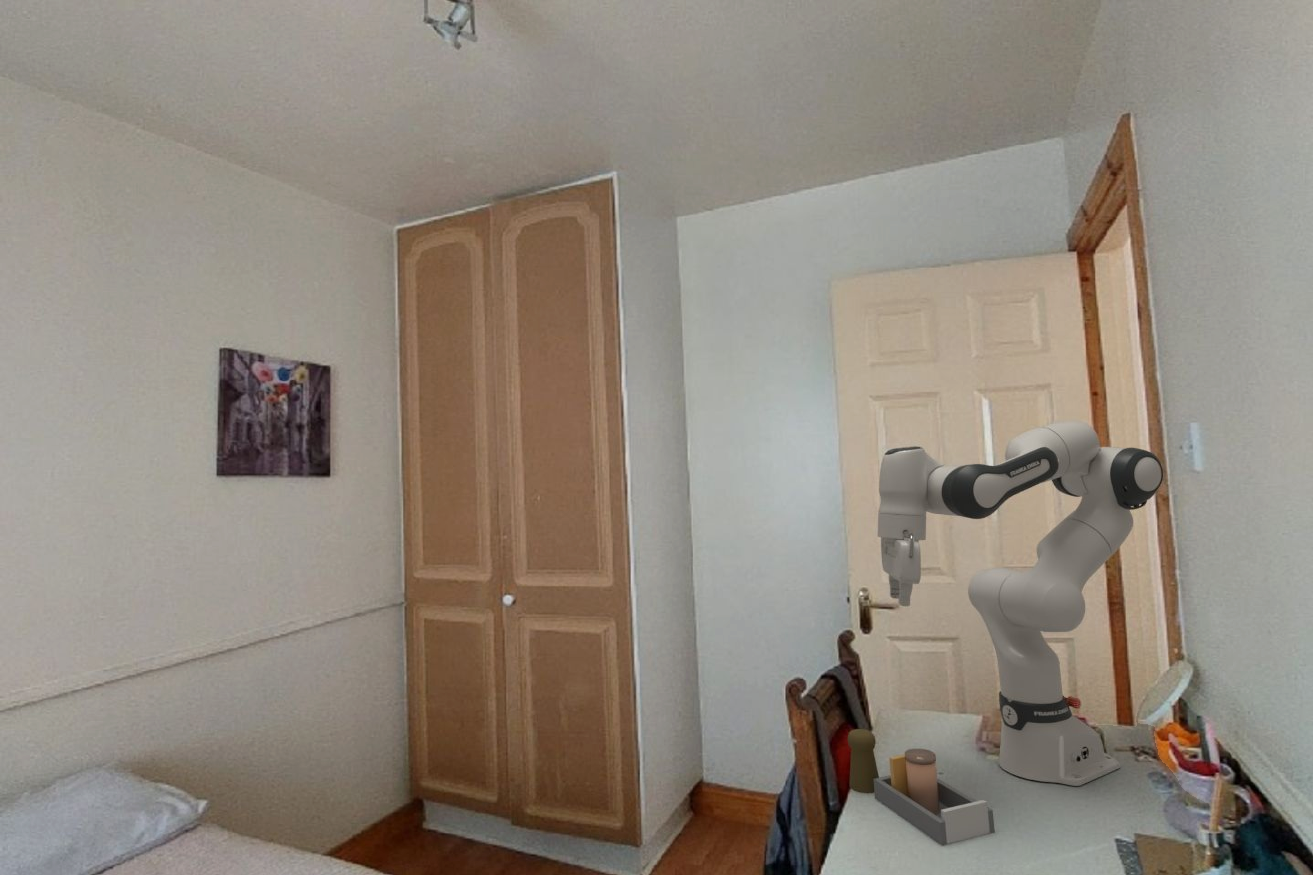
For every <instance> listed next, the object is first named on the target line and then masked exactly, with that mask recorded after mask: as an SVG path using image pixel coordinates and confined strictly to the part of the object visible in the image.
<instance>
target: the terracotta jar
mask: <svg viewBox="0 0 1313 875" xmlns="http://www.w3.org/2000/svg"><path fill="white" fill-rule="evenodd" d="M904 754H905V759H906V770H907V782H908V795H909V798H910V799H911V800H913V801H914V802H916V803H917V804H919V805H920V806H922V807H923V808H925V809H927V810H928V811H930V812H931V813H933V814H934V815H938V814H939V812H940V809H939V797H938V785H937V778H938V775H937V762H936V761H937V756H936V753H935V752H933V751H932V750H930V749H929V750H928V749H924V748H910V749H907V750H905V751H904Z"/></svg>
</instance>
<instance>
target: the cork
mask: <svg viewBox="0 0 1313 875" xmlns="http://www.w3.org/2000/svg"><path fill="white" fill-rule="evenodd" d="M847 743H848V744H847V745H848V746H849V748H851V749H850V763H849V764H850V768H849V785H848V786H849V788H850V789H851V790H852V791H854V792H857V793H861V794H875V792H874V779H875V778H880V776H879V770H878V766H877V761H876V756H875V752H874V749H875V748H876V743H877V742H876V737H875V735H874V734H873V732H872V731H870V730H869V729H865V728H856V729H852V730H850V731H849V733H848V735H847Z"/></svg>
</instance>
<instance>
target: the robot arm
mask: <svg viewBox="0 0 1313 875" xmlns="http://www.w3.org/2000/svg"><path fill="white" fill-rule="evenodd" d="M1099 438H1100V437H1099V435H1098V434H1097V432H1096V430H1095V429H1094V428H1093V427H1092V426H1091V425H1089V424H1088V423H1086V422H1083V421H1081V420H1064V421H1057V422H1053V423H1048V424H1045V425H1044V424H1043V425H1041V426H1038V427H1035V428H1031V429H1029V430H1027V431H1024V432H1022V433H1020V434H1018V435H1017V436H1015V437H1013V438H1012V439H1011V440H1009V441H1008V443H1007V445H1006V448H1005V453H1004V459H1005V460H1004V461H1002V462H1000V463H997V464H995V465H988V464H983V463H971V464H963V465H946V464H944V463H942V462H940V461H938V460H936V459H935V458H934V457H932V456H931V455H929V454H928V452H926V451H925V449H924V448H923V447H921V446H914V445H913V446H906V447H904V446H903V447H897V448H892V449H889V450H887V451H886V452H884V454H883V457H882V459H881V464H880V470H879V482H878V484H879V485H878V491H879V492H878V493H879V496H880V504H879V507H878V509H877V510H878V513H877V537H879V538H880V550H881V551H880V555H881V565H882V570H883V572H885V573H886V574H888V583H889V584H888V585H889V597H890V598H892V599H897V600H898V605H900V606H901V607H910V605H911V596H912V591H913V585H919V584H920V581H921V576H922V574H921V573H922V572H921V571H922V569H921V568H922V565H921V564H922V559H921V556H922V555H921V545H920V542H919V541H926V539H927V537H926V536H927V535H926V534H927V513H930V514H934V515H935V514H936V515H944V516H956V517H962V518H967V519H972V520H982V519H985V518H987V517H988V518H989V516H991V515H992V514H994V513H995V512H996V511H997V510H998V509H999V508H1000V507H1001V506H1003V504H1004V503H1005V502H1006V501H1008V500H1009V499H1010V498H1011V497H1013V496H1015V495H1017V494H1020V493H1022V492H1024V491H1027V490H1029V489H1031V488H1033V487H1035V486H1038V485H1039V484H1042V483H1046V482H1049V481H1051V482H1052V484H1053V485H1054V487H1055V488H1056V490H1058V492H1060V493H1061V494H1064V495H1068V496H1072V497H1074V498H1075V497H1076V498H1079V497H1081V500H1080V503H1079V504H1078V506H1077V507H1076V509H1075V510H1073V511H1072V512H1071V513H1070V514H1068V515H1067V516H1066V517H1065V518H1064V519H1062V521H1060V522H1059V523H1058V524H1056V526H1055V527H1054V528H1052V529H1051V531H1049V532H1048V533H1047V534H1046V535H1044V537H1043V538H1042V539H1040V541H1039V542H1038V544H1037V546H1036V555H1037V558H1038V560H1037V562H1036V563H1035V564H1034V566H1032V567H1031V568H1029V569H1026V570H1018V569H1013V568H1006V567H991V568H986V569H981V570H979V571H977V572H976V573H975V574H973V576H972V577H971V579H970V580H969V582H968V587H967V595H968V599H969V601H970V603H971V605H972V606H973V607H974V609H975V610H976V611H977V612H978V613H979V615H980V617H981V618H982V620H983V622H984V624H985V626H986V628H987V631H988V633H989V636H990V638H991V641H992V645H993V646H994V650H995V654H996V659H997V660H996V661H997V668H998V677H999V687H1000V691H999V693H998V702H999V704H998V705H999V711H1000V714H1001V725H1000V726H1001V730H1000V731H1001V732H1000V746H999V747H1000V753H999V755H998V759H997V763H998V765H999V767H1001V769H1003V770H1004V771H1006V772H1008V773H1009V774H1011V775H1015V776H1017V777H1020V778H1023V779H1025V780H1026V779H1027V780H1031V781H1032V780H1033V781H1038V782H1045V783H1046V782H1047V783H1058V784H1063V785H1068V786H1073V787H1080V786H1082V785H1085V784H1086V783H1088V782H1091V781H1093V780H1096V779H1098V778H1100V777H1103V776H1104V775H1107V774H1109V773H1112V772H1114V771H1116V770H1118V769H1120V768H1121V765H1120V762H1119V761H1118V760H1117V759H1116V758H1114V757H1113V756H1112V755H1109V754H1108V753H1106V752H1105V750H1104V745H1103V741H1102V739H1101V736H1100V734H1099V733H1098V732H1097V731H1096V730H1095V729H1093V727H1090V726H1089V725H1087V724H1086V723H1085V722H1083V721H1081V719H1079V718H1078V717H1076V716H1075V715H1074V714H1073V712H1072V710H1071V708H1070V707H1072V708H1074V709H1076V710H1079V709H1080V708H1081V706H1082V701H1081V699H1080V698H1077V697H1074V696H1071V695H1069V696H1067V697H1065V696H1064V695H1063V686H1062V684H1063V682H1062V674H1061V664H1060V660H1059V657H1058V654H1057V653H1056V652H1055V650H1054V649H1053V648H1052V647H1051V646H1050V645H1049V644H1048V642H1047V641H1046V639H1045V638H1044V635H1043V634H1042V632H1044V633H1067V632H1069V633H1070V632H1071V631H1073V630H1075V629H1077V628H1078V627H1079V626H1080V625H1081V623H1082V621H1083V620H1084V617H1085V614H1086V600H1085V597H1084V595H1083V593H1082V591H1083V590H1084V586H1085V585H1086V583H1087V582H1088V581H1089V580H1090V578H1091V577H1092V576H1093V575H1094V574H1095V573H1096V572H1097V571H1098V570H1099V569H1100V568H1101V567H1102V566H1103V565H1104V564H1105V563H1106V562H1107V561H1108V560H1109V559H1110V558H1111V557H1112V556H1113V555H1115V553H1117V551H1118V549H1119V548H1120V547H1121V546H1122V545H1123V543H1124V542H1125V541H1126V540H1127V538H1128V536H1129V535H1130V534H1131V531H1132V529H1133V528H1134V518H1133V515H1132V513H1131V510H1132V511H1133V510H1138V509H1140V508H1143V507H1144V506H1146V504H1147V502H1148V500H1150V499H1151V498H1152V497H1153V496H1155V494H1156V493H1157V491H1158V490H1159V488H1160V487H1161V484H1162V482H1163V480H1164V470H1163V469H1164V468H1163V467H1162V463H1161V461H1160V459H1159V458H1158V457H1157V455H1155V453H1153V452H1151V451H1148V450H1146V449H1141V448H1137V447H1115V446H1114V447H1113V446H1100V445H1101V444H1100V439H1099Z"/></svg>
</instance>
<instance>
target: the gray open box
mask: <svg viewBox="0 0 1313 875" xmlns="http://www.w3.org/2000/svg"><path fill="white" fill-rule="evenodd" d="M937 785H938V797H939V809H940V812H939V814H938V815H934V814H933V813H931V812H930V811H928V810H927V809H925V808H923V807H922V806H920V805H919V804H917V803H916V802H914V801H913V800H911V799H910V798H908V797H907V796H905V795H904V794H902V793H900V792H899V791H897V790H896V789H894V788H893V787H892V786H891V774H890V775H884V776H879V778H875V779H874V792H875V793H874V799H875V800H876V801H878V802H879V803H881V805H883V806H885V807H886V808H887V809H889V810H890V811H892V812H893V813H895V814H896V815H898V816H899V817H901V818H902V819H904V820H905V821H906V822H908V823H909V824H910V825H912V826H913V827H915V828H916V829H918V830H919V831H920V832H922V833H923V834H925V835H926V836H927V837H929V838H930V839H931V840H933V841H935V842H936V843H937V844H939V845H940V846H946V845H950V844H954V843H958V842H962V841H965V840H969V839H973V838H977V837H982V836H985V835H989V834H993V833H995V821H994V820H995V819H994V810H993V809H991V808H990V807H988V801H986V800H985V799H982V800H981V799H980V800H976V799H974V798H973V797H971V796H969V795H967V794H966V793H964V792H962V791H961V790H959V789H957V788H956V787H953V785H950V784H948V783H946V782H945V781H943V780H941V779H940V778H938V777H937Z"/></svg>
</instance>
